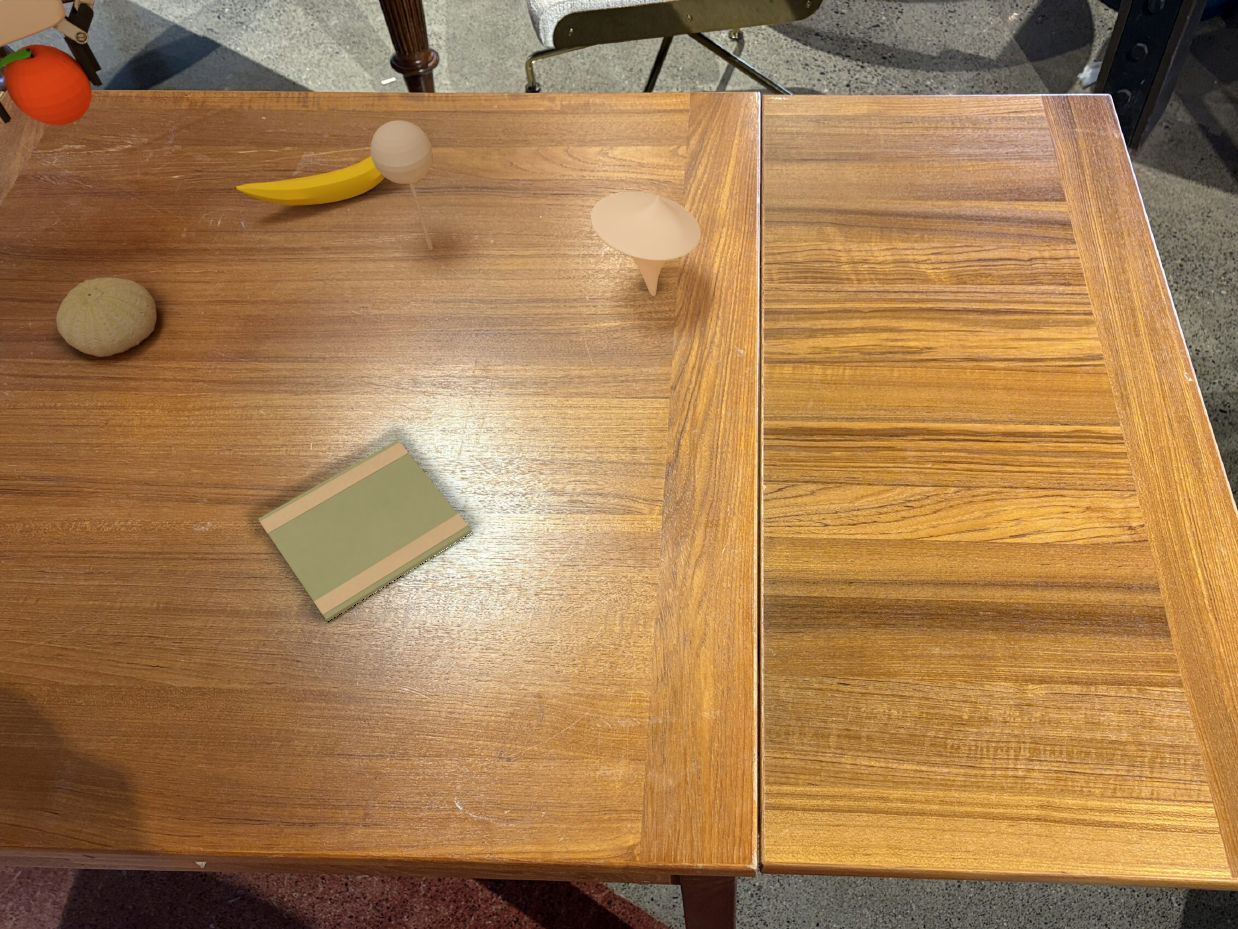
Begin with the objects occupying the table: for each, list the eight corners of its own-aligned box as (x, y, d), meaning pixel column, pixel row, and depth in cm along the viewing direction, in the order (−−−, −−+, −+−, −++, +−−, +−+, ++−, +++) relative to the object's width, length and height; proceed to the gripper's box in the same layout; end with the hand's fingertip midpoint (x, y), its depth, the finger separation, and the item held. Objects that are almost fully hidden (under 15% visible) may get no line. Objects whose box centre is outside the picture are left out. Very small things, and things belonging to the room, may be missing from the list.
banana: (250, 216, 113) (226, 168, 107) (415, 168, 117) (400, 120, 112) (255, 232, 111) (232, 184, 106) (422, 183, 115) (407, 134, 110)
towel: (328, 622, 84) (325, 618, 83) (260, 522, 89) (257, 518, 89) (472, 533, 88) (470, 528, 88) (399, 443, 94) (397, 438, 94)
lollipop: (397, 238, 110) (356, 116, 98) (449, 224, 111) (415, 100, 99) (411, 274, 107) (371, 152, 94) (465, 259, 108) (432, 136, 96)
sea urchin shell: (85, 369, 97) (30, 295, 95) (92, 376, 104) (41, 308, 102) (174, 323, 101) (122, 250, 98) (175, 333, 108) (126, 265, 105)
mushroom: (677, 249, 108) (673, 152, 98) (718, 314, 103) (718, 219, 93) (586, 277, 106) (572, 181, 96) (623, 345, 101) (612, 251, 91)
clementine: (27, 153, 95) (-19, 83, 89) (13, 115, 98) (-33, 45, 92) (113, 125, 97) (74, 55, 91) (97, 89, 100) (58, 19, 94)
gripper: (21, -150, 86) (122, 46, 100) (-200, -82, 79) (-58, 116, 94) (54, -119, 82) (153, 79, 97) (-174, -46, 76) (-32, 154, 91)
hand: (48, 96), depth 95 cm, fingers closed on clementine, 8 cm apart
